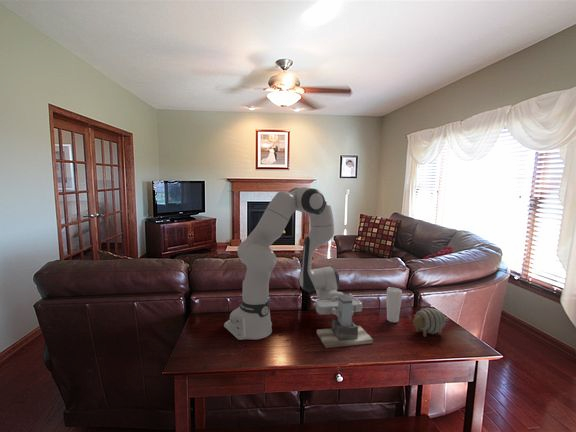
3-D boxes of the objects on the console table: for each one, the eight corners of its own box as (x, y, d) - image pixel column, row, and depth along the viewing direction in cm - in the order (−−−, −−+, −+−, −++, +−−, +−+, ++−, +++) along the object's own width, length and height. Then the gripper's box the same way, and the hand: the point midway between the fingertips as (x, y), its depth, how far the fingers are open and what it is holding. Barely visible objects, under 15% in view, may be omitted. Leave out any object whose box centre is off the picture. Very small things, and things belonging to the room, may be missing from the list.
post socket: (316, 332, 126) (317, 318, 126) (359, 328, 130) (360, 314, 130) (325, 348, 115) (326, 332, 114) (372, 343, 119) (373, 327, 118)
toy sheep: (405, 330, 130) (406, 306, 129) (436, 325, 135) (438, 302, 134) (422, 342, 120) (424, 316, 119) (455, 336, 125) (457, 311, 124)
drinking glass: (401, 319, 140) (403, 289, 139) (398, 325, 135) (400, 293, 133) (387, 316, 144) (388, 286, 142) (383, 321, 138) (385, 290, 137)
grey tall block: (337, 328, 124) (338, 296, 123) (346, 327, 125) (347, 296, 124) (341, 334, 119) (343, 301, 118) (351, 333, 120) (352, 300, 119)
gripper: (311, 295, 132) (321, 308, 118) (354, 293, 136) (368, 305, 122) (311, 309, 132) (321, 323, 119) (353, 306, 136) (367, 319, 123)
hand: (345, 314), depth 121 cm, fingers closed on grey tall block, 4 cm apart
